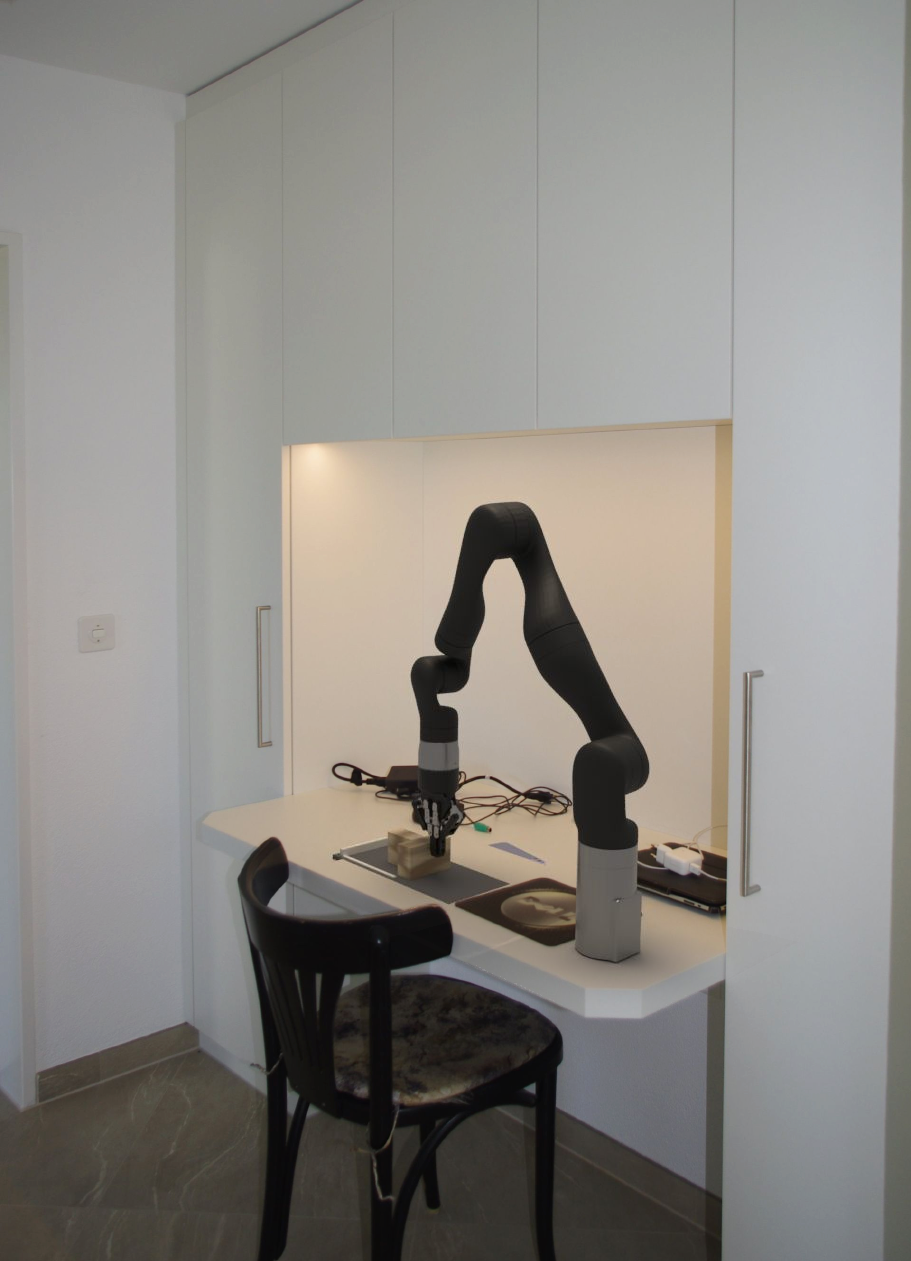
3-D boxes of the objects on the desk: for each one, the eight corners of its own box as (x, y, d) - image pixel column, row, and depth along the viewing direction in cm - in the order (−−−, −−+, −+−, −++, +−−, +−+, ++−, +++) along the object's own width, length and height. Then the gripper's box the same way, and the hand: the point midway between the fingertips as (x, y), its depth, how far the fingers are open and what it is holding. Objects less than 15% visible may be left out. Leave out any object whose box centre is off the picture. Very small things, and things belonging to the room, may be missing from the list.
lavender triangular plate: (506, 840, 206) (548, 861, 193) (506, 844, 206) (548, 866, 193) (474, 846, 202) (516, 868, 189) (474, 850, 202) (516, 873, 189)
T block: (450, 868, 188) (450, 837, 188) (409, 880, 182) (410, 848, 181) (414, 854, 196) (414, 824, 195) (374, 865, 189) (374, 835, 189)
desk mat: (509, 888, 180) (510, 875, 180) (448, 908, 170) (448, 895, 170) (392, 843, 205) (392, 832, 205) (332, 858, 195) (332, 847, 195)
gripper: (478, 767, 179) (477, 860, 181) (430, 754, 189) (429, 843, 191) (447, 773, 174) (446, 869, 176) (399, 760, 184) (399, 851, 186)
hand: (437, 855), depth 183 cm, fingers closed
